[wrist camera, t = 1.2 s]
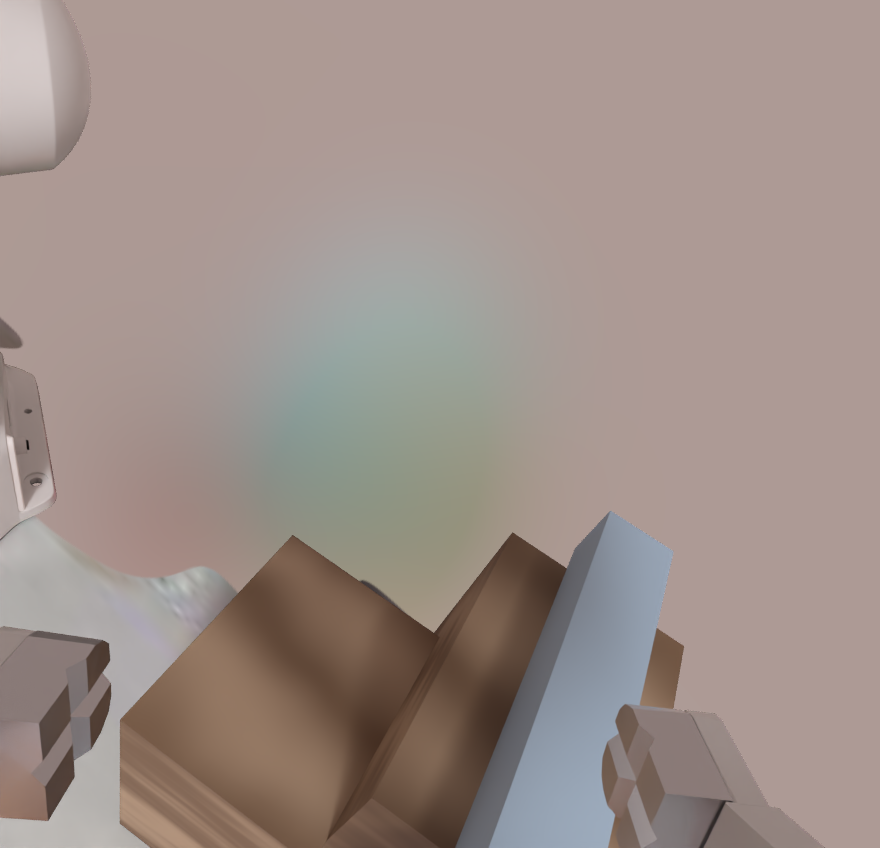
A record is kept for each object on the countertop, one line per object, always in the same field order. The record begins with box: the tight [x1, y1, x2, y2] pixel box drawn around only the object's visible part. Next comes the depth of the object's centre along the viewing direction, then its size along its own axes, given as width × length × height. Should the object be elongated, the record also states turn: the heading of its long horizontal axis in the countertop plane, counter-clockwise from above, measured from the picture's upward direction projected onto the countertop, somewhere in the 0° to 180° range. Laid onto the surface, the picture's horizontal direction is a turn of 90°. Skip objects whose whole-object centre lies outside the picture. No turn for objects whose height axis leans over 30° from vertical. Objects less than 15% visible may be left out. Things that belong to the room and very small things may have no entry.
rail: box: [455, 511, 673, 848], centre depth 22 cm, size 24×4×4 cm, turn 153°
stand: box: [120, 533, 684, 848], centre depth 34 cm, size 15×20×26 cm
